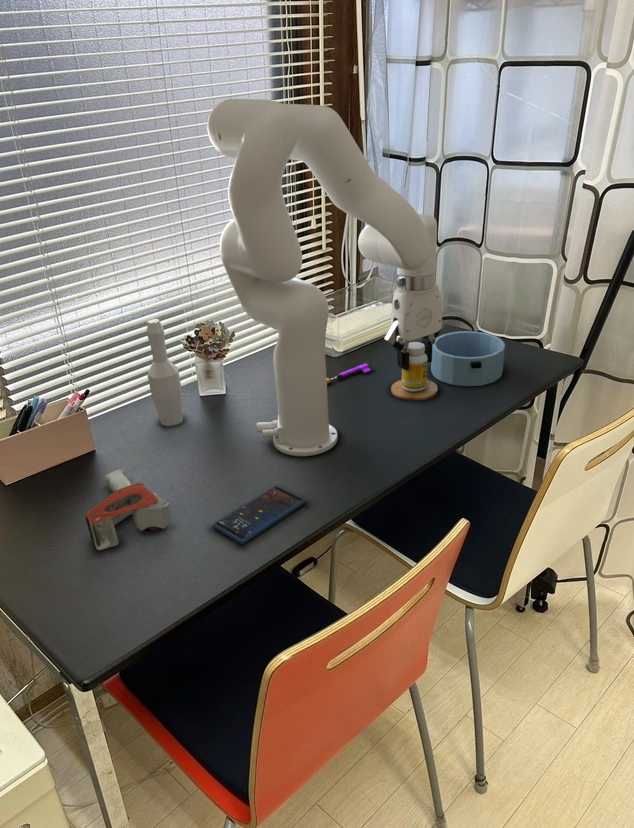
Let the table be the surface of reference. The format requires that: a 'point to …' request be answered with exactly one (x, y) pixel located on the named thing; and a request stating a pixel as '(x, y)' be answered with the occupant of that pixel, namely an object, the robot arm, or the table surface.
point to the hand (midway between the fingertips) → (414, 363)
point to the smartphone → (259, 514)
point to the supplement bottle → (415, 368)
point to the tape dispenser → (125, 510)
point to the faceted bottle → (164, 378)
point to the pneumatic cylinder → (353, 371)
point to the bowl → (467, 358)
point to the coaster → (414, 396)
